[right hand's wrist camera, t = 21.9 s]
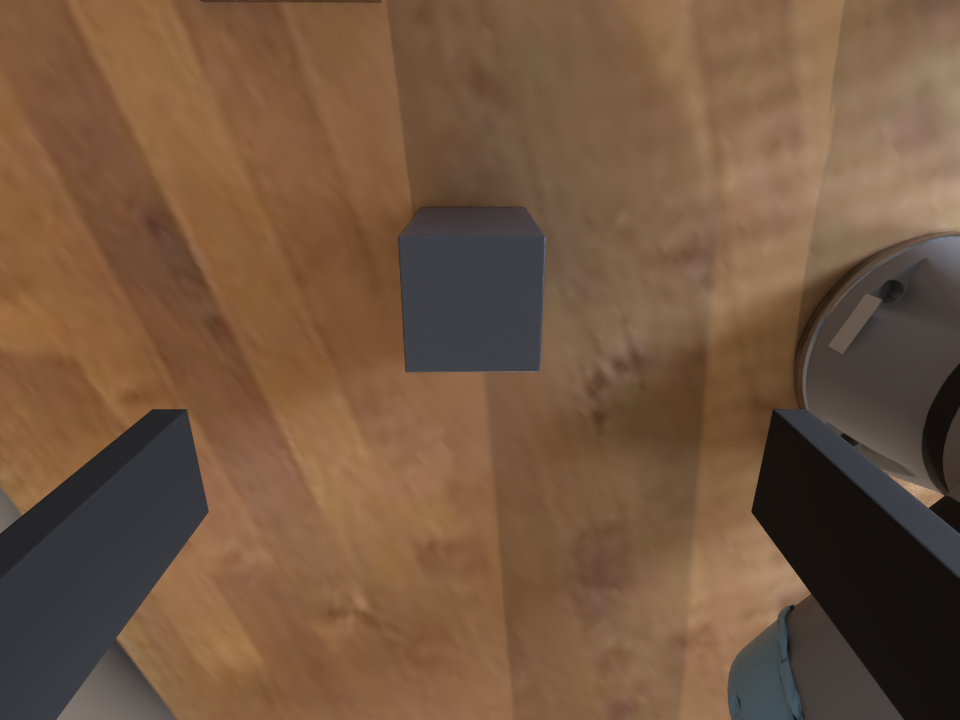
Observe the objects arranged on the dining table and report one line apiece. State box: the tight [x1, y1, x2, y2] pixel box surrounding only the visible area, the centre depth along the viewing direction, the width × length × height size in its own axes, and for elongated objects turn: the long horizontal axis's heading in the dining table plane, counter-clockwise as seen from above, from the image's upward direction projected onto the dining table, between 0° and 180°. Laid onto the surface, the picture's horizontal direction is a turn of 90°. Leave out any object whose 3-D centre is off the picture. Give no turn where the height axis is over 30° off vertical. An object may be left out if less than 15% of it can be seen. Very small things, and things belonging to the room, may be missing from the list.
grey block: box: [398, 207, 546, 372], centre depth 28 cm, size 6×6×10 cm
